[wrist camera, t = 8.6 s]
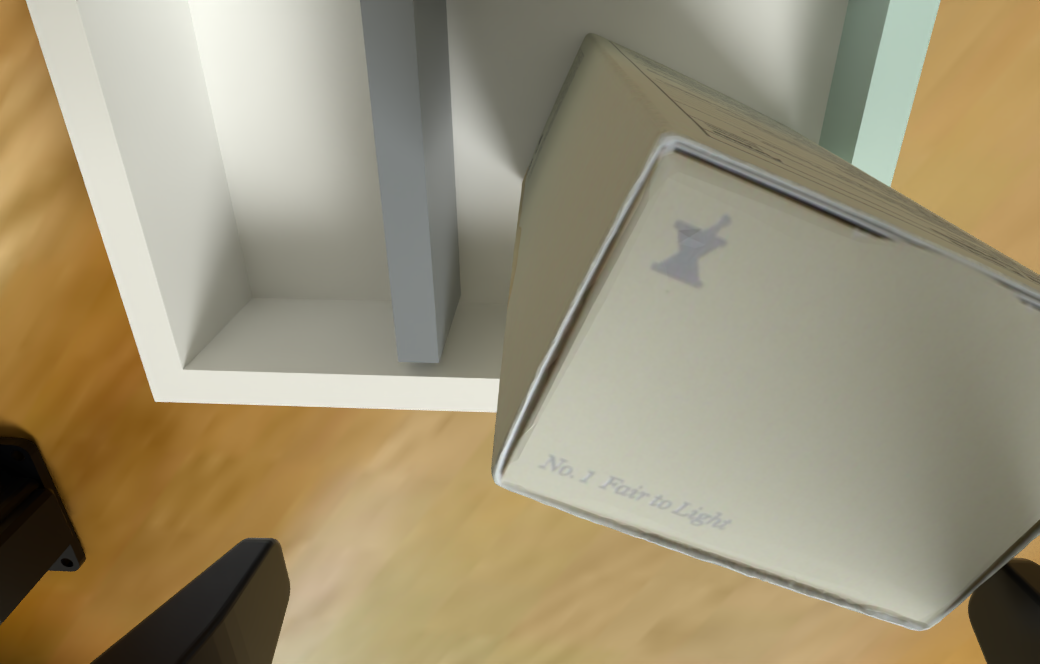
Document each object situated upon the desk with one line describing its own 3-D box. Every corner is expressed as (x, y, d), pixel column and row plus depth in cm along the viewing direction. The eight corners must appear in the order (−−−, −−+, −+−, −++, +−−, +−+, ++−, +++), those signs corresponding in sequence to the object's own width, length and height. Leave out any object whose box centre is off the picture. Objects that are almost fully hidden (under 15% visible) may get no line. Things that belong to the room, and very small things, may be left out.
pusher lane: (238, 314, 21) (154, 401, 17) (146, -85, 16) (-9, -107, 12) (803, 327, 20) (868, 423, 16) (898, -91, 15) (1033, -118, 11)
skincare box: (518, 184, 18) (454, 486, 7) (590, 19, 16) (644, 107, 5) (720, 272, 19) (923, 656, 8) (811, 126, 17) (1239, 387, 6)
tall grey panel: (427, 294, 19) (398, 362, 16) (403, -21, 16) (357, -20, 12) (460, 294, 19) (438, 362, 16) (444, -21, 16) (411, -20, 12)
